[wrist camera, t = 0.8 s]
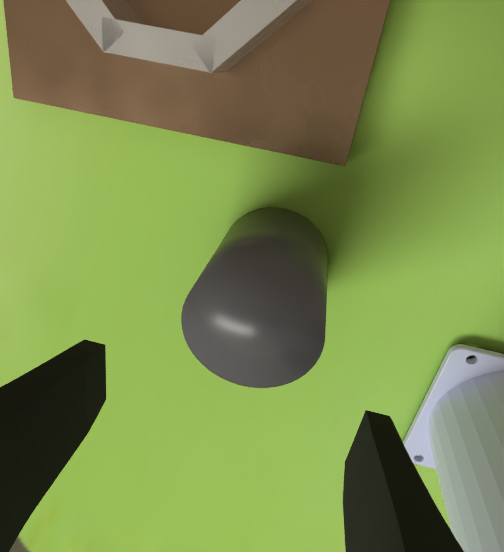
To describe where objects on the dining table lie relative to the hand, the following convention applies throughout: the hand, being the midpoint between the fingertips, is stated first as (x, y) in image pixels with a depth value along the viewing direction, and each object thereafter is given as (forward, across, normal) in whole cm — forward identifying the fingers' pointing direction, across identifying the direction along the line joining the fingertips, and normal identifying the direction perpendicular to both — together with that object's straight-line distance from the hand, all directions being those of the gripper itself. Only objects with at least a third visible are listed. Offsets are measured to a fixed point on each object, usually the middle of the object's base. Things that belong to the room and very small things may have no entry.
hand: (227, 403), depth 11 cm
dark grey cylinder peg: (+9, 0, 0) cm, 9 cm away
